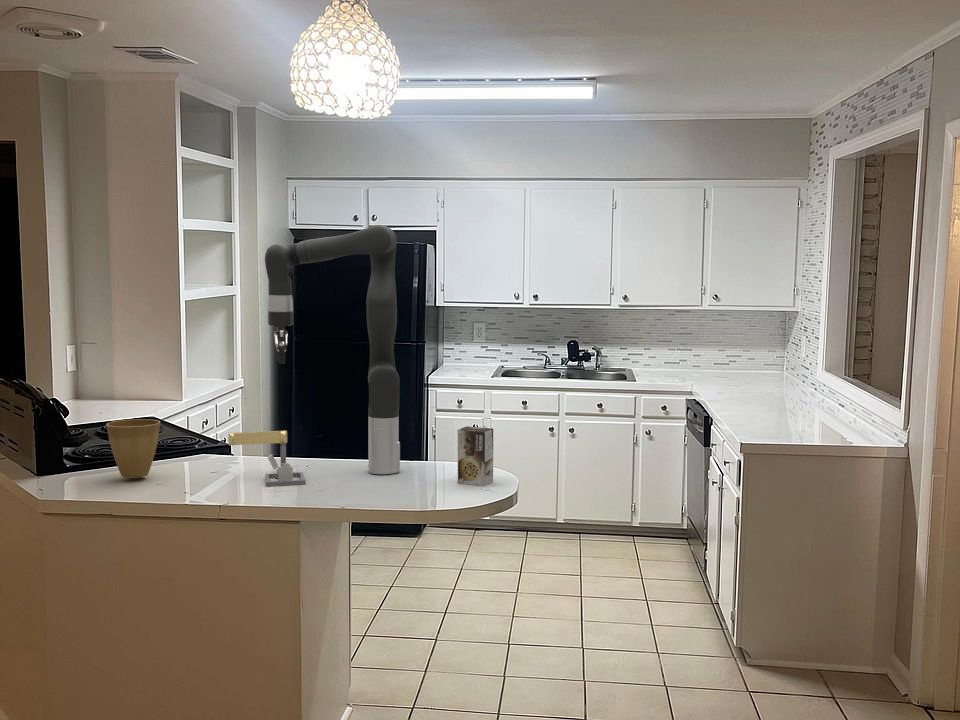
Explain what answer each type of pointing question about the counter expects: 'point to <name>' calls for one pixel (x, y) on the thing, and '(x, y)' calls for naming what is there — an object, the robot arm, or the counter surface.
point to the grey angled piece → (282, 469)
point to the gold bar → (257, 437)
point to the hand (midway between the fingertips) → (281, 362)
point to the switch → (275, 475)
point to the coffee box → (475, 456)
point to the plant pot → (133, 445)
